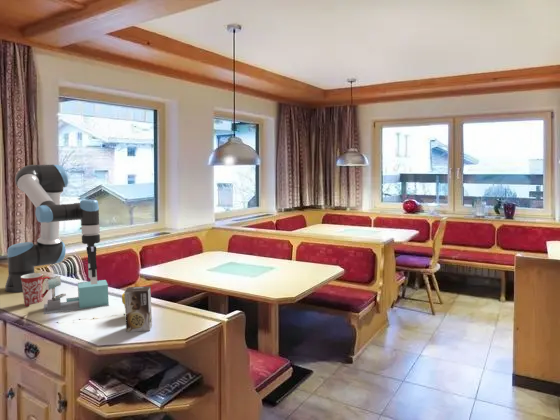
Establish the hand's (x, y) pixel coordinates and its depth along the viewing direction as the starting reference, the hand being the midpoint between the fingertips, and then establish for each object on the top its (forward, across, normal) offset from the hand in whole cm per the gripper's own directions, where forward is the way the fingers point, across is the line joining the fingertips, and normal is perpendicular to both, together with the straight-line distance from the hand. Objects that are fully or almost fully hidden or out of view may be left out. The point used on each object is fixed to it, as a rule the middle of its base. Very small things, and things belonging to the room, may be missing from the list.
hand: (92, 280), depth 205 cm
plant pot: (+12, +22, +15) cm, 30 cm away
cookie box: (+12, +38, +14) cm, 43 cm away
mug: (+12, -16, -23) cm, 30 cm away
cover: (+10, 0, -3) cm, 11 cm away
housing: (+12, 0, -7) cm, 14 cm away
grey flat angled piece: (+7, -2, -15) cm, 17 cm away
